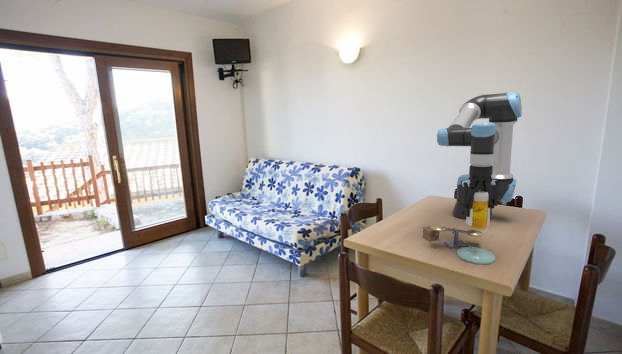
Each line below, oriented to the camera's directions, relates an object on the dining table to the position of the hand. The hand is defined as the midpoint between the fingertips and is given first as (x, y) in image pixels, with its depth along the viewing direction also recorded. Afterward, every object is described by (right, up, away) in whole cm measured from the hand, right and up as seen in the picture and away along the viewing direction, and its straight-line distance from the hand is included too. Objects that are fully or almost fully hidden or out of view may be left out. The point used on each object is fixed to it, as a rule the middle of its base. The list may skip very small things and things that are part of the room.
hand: (477, 223), depth 113 cm
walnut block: (-9, -10, +22) cm, 26 cm away
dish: (+1, -13, +3) cm, 14 cm away
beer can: (0, -2, 0) cm, 2 cm away
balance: (-2, -11, +13) cm, 18 cm away
